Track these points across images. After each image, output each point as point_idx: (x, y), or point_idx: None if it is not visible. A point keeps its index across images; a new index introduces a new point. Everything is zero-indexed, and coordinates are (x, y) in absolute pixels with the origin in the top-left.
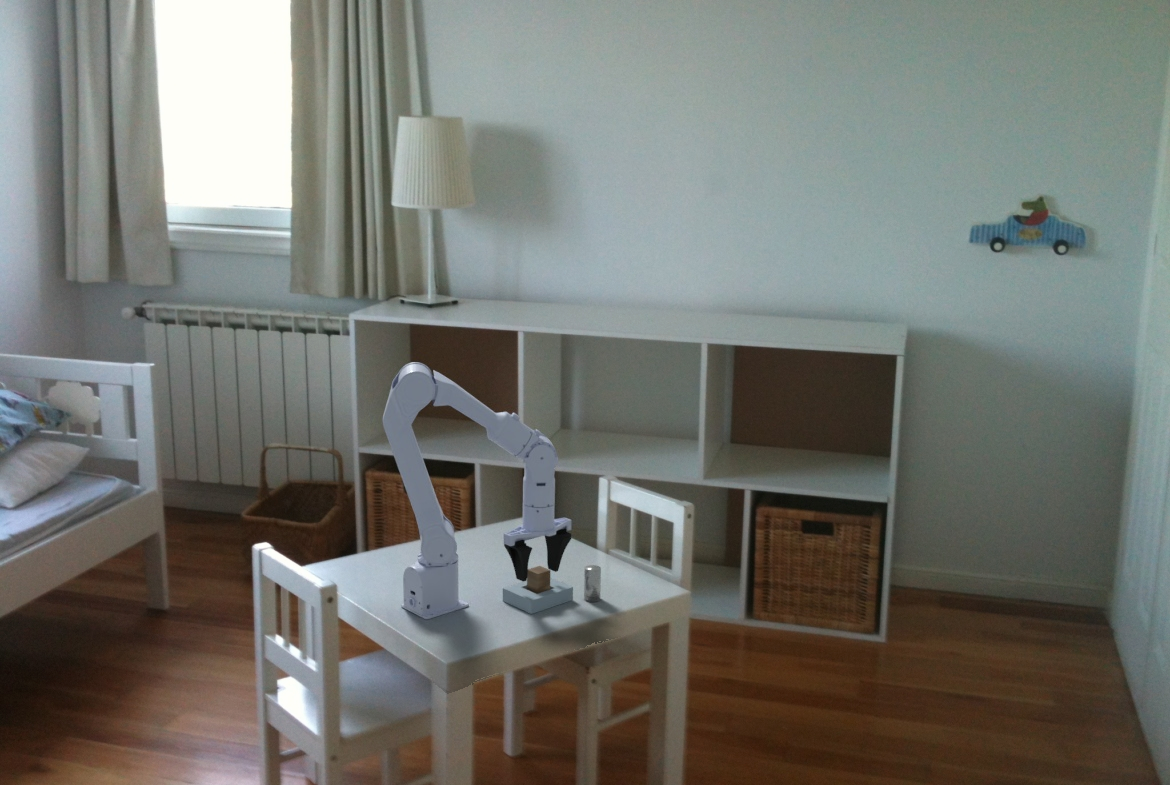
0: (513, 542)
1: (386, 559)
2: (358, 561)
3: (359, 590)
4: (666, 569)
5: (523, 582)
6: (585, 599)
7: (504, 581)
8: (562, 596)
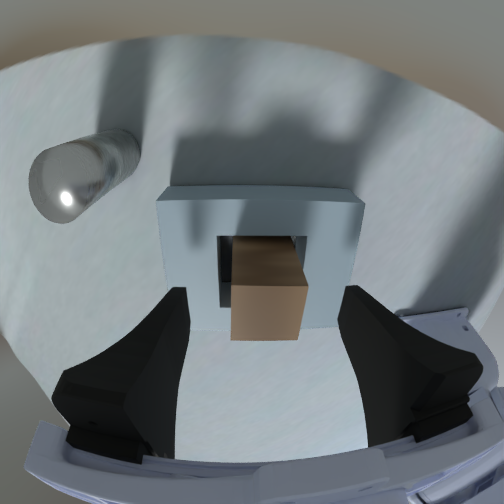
0: (487, 412)
1: (303, 457)
2: None
3: None
4: None
5: None
6: (137, 158)
7: (231, 372)
8: (213, 191)
